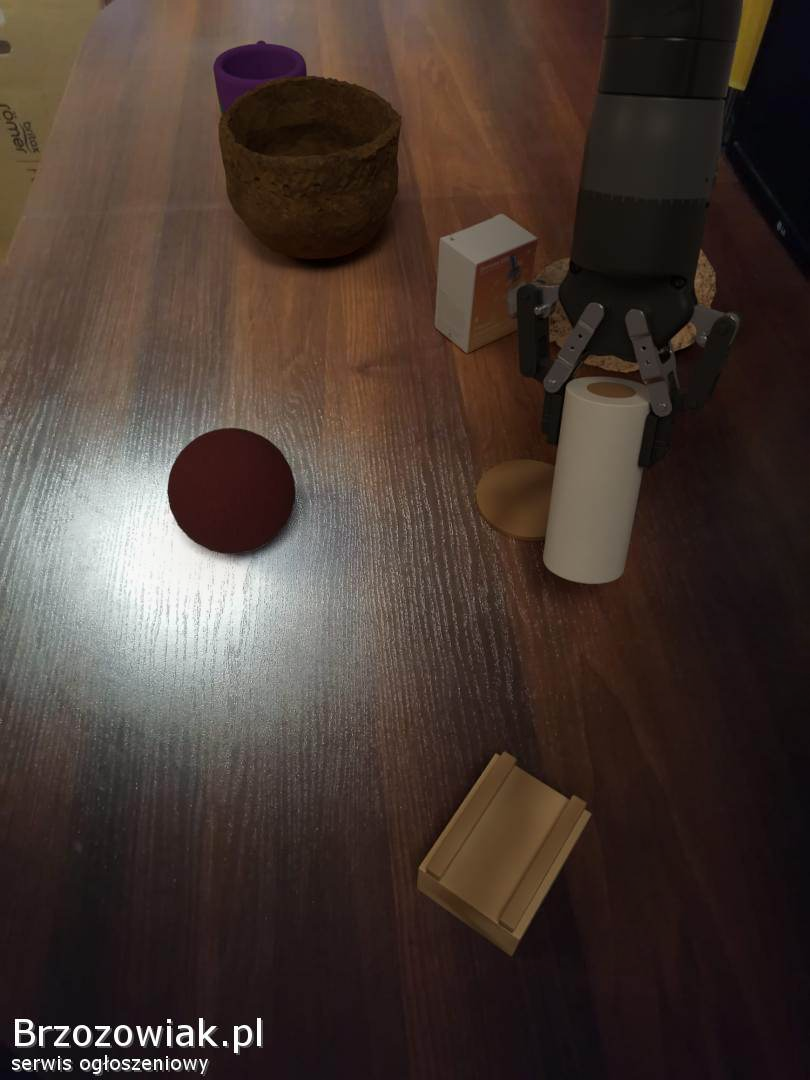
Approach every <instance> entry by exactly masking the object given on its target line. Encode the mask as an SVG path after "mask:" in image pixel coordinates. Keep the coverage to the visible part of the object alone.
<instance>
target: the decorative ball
mask: <svg viewBox="0 0 810 1080" xmlns="http://www.w3.org/2000/svg"><path fill="white" fill-rule="evenodd" d="M167 480H168V481H167V489H166V490H167V491H166V492H167V499H168V505H169V510H170V512H171V514H172V516H173V518H174V521H175V522H176V524H177V526H178V527H179V528H180V530H181V531H182V532H183V533H184V534H185V536H187V537H188V538H189V540H191V541H192V542H194V543H195V544H197V545H198V546H201V547H202V548H205V549H207V550H209V551H212V552H215V553H219V554H228V555H233V554H234V555H236V554H237V555H238V554H243V553H249V552H253V551H255V550H258V549H260V548H262V547H264V546H265V545H267V544H269V543H271V542H272V541H273V540H274V539H275V538H277V536H278V535H279V534H280V533H281V532H282V531H283V529H284V528H285V527H286V525H288V522H289V519H290V518H291V516H292V513H293V510H294V506H295V503H296V481H295V478H294V474H293V471H292V468H291V465H290V463H289V462H288V460H287V458H286V457H285V455H284V454H283V452H282V451H281V450H280V449H279V448H278V447H277V446H276V445H275V444H274V443H273V442H272V441H270V440H269V439H268V438H266V437H265V436H263V435H261V434H258V433H257V432H254V431H251V430H247V429H244V428H238V427H225V428H223V427H222V428H218V429H213V430H210V431H207V432H205V433H202V434H201V435H199V436H197V437H196V438H194V439H193V440H191V441H190V442H189V443H188V444H187V445H185V446H184V447H183V448H182V449H181V451H180V452H179V453H178V455H177V456H176V459H175V460H174V462H173V464H172V466H171V469H170V471H169V473H168V479H167Z"/></svg>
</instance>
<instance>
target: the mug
mask: <svg viewBox="0 0 810 1080" xmlns="http://www.w3.org/2000/svg"><path fill="white" fill-rule="evenodd" d="M306 63H307V62H306V61H305V58H304V57H303V55H302V54H301V53H300V52H299V51H297V50H295V49H293V48H292V47H288V46H284V45H282V44H281V45H280V44H275V43H266V41H264V40H257V42H256V43H249V44H244V45H238V46H235V47H232V48H229V49H227V50H225V51H223V52H221V53H220V54H219V55H218V56H217V57H216V58H215V60H214V63H213V65H212V66H213V68H212V69H213V75H214V82H215V89H216V94H217V99H218V105H219V110H220V116H222V114H223V113H224V112H225V111H226V110H228V109H229V107H230V106H231V105H232V103H233V102H234V101H235V100H236V98H237V97H238V96H240V95H243V94H244V93H245V92H247V91H248V90H250V89H253V88H256V87H257V86H258V85H260V84H263V83H266V82H268V81H270V80H272V79H274V80H277V79H279V78H283V77H290V76H291V77H299V76H308V73H307V71H308V70H307V64H306Z"/></svg>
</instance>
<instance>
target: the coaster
mask: <svg viewBox="0 0 810 1080" xmlns="http://www.w3.org/2000/svg"><path fill="white" fill-rule="evenodd" d="M554 472H555V465H552V464H549V463H547V462H545V461H544V462H543V461H541V460H540V461H539V460H535V459H528V458H527V459H526V458H525V459H524V458H519V459H511V460H506V461H502V462H500V463H498V464H496V465H494V466H491V468H489V469H488V470H486V472H485V473H484V474H483V475H482V476H481V477H480V479H479V481H478V483H477V485H476V490H475V504H476V509H477V511H478V513H479V515H480V517H481V519H483V521H484V522H485V523H486V524H487V525H488V526H489V527H490V528H491V529H493V530H494V531H496V532H497V533H499V534H501V535H503V536H505V537H508V538H511V539H514V540H518V541H525V542H540V541H541V542H542V541H545V539H546V532H547V524H548V517H549V509H550V502H551V494H552V487H553V480H554Z"/></svg>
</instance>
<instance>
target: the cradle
mask: <svg viewBox="0 0 810 1080" xmlns="http://www.w3.org/2000/svg"><path fill="white" fill-rule="evenodd" d="M517 762H518V759H517V758H516V757H514V756H513V755H511V754H510V753H508V752H507V751H505V750H504V751H503V752H502V753H501V754H500V755H499V754H498V753H495V754H494V755H493V756H492V758H491V760H490V761H489V762H488V763H487V765H486V767H485V768H484V770H483V771H482V772H481V775H480V776H479V778H477V780H476V782H475V783H474V785H473V787H472V788H471V789H470V790H469V792H468V794H467V795H466V797H465V798H464V800H463V801H462V802H461V805H460V806H459V807H458V808H457V810H456V811H455V813H454V814H453V816H452V817H451V819H450V820H449V821H448V823H447V825H446V827H445V828H444V829H443V831H442V832H441V834H440V836H439V837H438V838H437V840H436V841H435V843H434V844H433V845H432V847H431V849H430V850H429V852H427V855H426V856H425V858H424V859H423V861H422V862H421V863H420V865H419V866H418V872H417V879H416V880H417V881H416V882H417V883H416V884H417V885H416V889H417V890H419V891H420V892H421V893H422V894H424V895H425V896H427V897H429V898H430V899H431V900H432V901H434V902H435V903H436V904H438V905H439V906H441V907H442V908H443V909H445V910H446V911H448V912H449V913H450V914H452V915H453V916H454V917H456V918H457V919H458V920H460V921H461V922H463V923H464V924H465V925H467V926H468V927H470V928H471V929H472V930H474V931H475V932H476V933H478V934H479V935H481V936H482V937H483V938H485V939H486V940H488V941H489V942H491V943H492V944H493V945H495V946H496V947H497V948H499V949H500V950H502V951H503V952H505V953H506V954H507V955H508V956H510V957H513V956H514V954H515V952H516V950H517V949H518V947H519V945H520V943H521V942H522V940H523V938H524V936H525V934H526V933H527V931H528V929H529V928H530V926H531V924H532V922H533V921H534V919H535V918H536V915H537V914H538V912H539V910H540V908H541V907H542V905H543V903H544V901H545V900H546V898H547V896H548V894H549V893H550V891H551V889H552V887H553V885H554V884H555V882H556V881H557V878H558V877H559V875H560V873H561V872H562V870H563V868H564V866H565V864H566V862H568V859H569V857H570V856H571V854H572V852H573V851H574V848H575V847H576V845H577V843H578V842H579V840H580V838H581V836H582V834H583V833H584V830H585V828H586V826H587V824H588V823H589V820H590V819H591V816H592V813H591V812H590V811H588V810H587V809H586V808H587V806H588V803H587V802H586V801H585V800H583V799H581V798H580V797H578V796H576V795H575V794H573V795H571V797H570V799H569V798H568V797H566V796H564V795H563V794H562V793H560V792H558V791H557V790H555V789H554V788H552V787H550V786H549V785H547V784H546V783H544V782H542V781H541V780H539V779H538V778H536V777H534V776H533V775H531V774H529V773H528V772H526V771H525V770H524V769H522V768H520V767H519V766H517Z"/></svg>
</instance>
